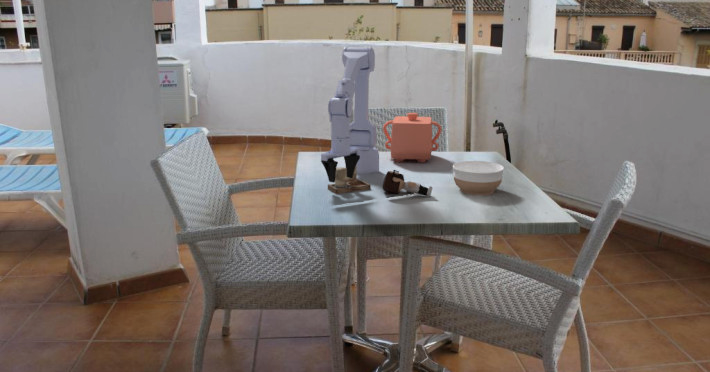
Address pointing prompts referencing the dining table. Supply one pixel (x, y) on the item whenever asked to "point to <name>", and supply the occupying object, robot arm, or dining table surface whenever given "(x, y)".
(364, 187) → the socket board
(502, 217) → the dining table surface
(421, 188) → the figurine
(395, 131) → the lidded jar with handles
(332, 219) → the dining table surface
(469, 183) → the bowl
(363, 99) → the robot arm
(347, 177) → the beige short cylinder
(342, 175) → the beige rounded cylinder
